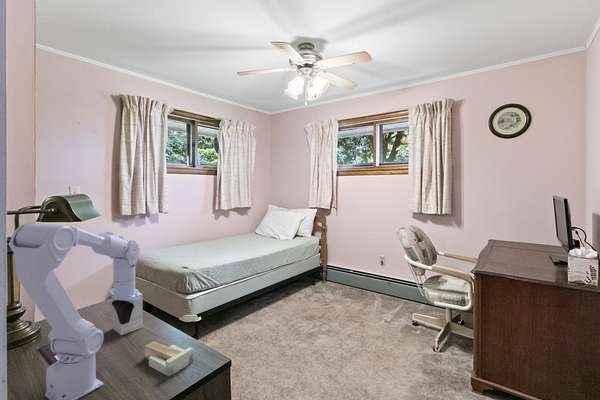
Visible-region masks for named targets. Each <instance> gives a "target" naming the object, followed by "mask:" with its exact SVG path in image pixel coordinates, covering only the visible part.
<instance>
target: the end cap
mask: <svg viewBox="0 0 600 400" xmlns="http://www.w3.org/2000/svg"><path fill="white" fill-rule="evenodd" d="M168 347H170V348H173V349H176V350H178V351H181V352H180V353H179V354H177V355H175V356H173V357H172V358H170V359H168V360H166V361H165V360H163V359H161V358H159V357H157V356H155V355H152V356H150V357H149V360H148V367H150V368H153V369H154V370H156V371H158V372H159V373H161V374H164V375H165V376H166V377H171V376H173V375H174V374H176V373H177V372H179V371H181V370H182V369H185V367H187V366H189V365H190V364H192V363H193V362H194V348H193V347H187V348H186V349H184V348H182V347H179V346H177V345H175V344H172V345H170V346H168Z"/></svg>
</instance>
